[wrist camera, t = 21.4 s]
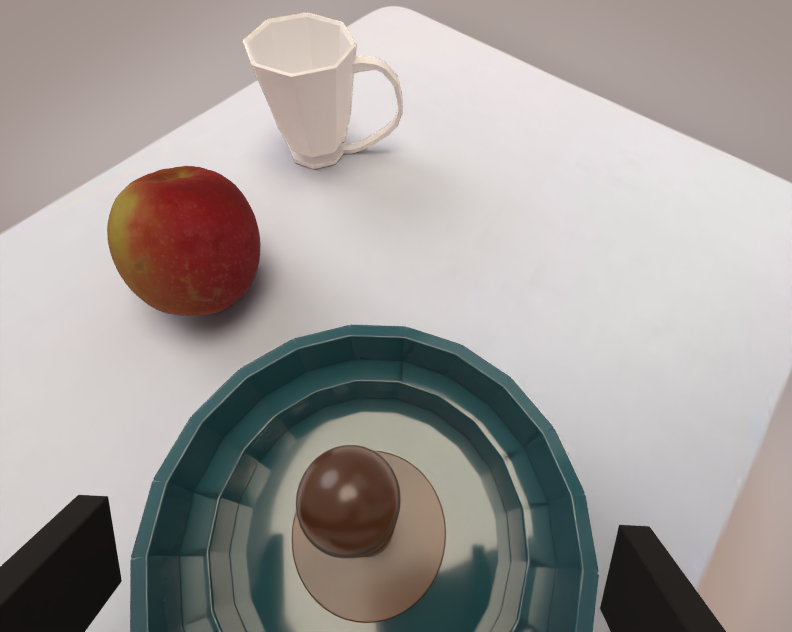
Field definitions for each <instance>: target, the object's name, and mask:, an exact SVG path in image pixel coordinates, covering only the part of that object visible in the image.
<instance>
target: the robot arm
mask: <svg viewBox="0 0 792 632" xmlns="http://www.w3.org/2000/svg"><path fill="white" fill-rule="evenodd" d="M121 581H122V580H121V574H120V568H119V562H118V556H117V550H116V543H115V537H114V531H113V525H112V519H111V512H110V506H109V500H108V497H107V496H89V495H78V496H77V497H76V498H75V499H73V500H72V501H71V502H70V503H69V504H68V505H67V506H66V507H65V508H64V509H63V510H62V511H60V512H59V513H58V514H57V515H56V516H55V517H54V518H53V519H52V520H51V521H50V522H48V523H47V524H46V525H45V526H44V527H43V528H42V529H41V530H40V531H39V532H38V533H37V534H35V535H34V536H33V537H32V538H31V539H30V540H29V541H28V542H27V543H26V544H25V545H24V546H22V547H21V548H20V549H19V550H18V551H17V552H16V553H15V554H14V555H13V556H12V557H11V558H9V559H8V560H7V561H6V562H5V563H4V564H3V565H2V566H1V567H0V632H85V631H86V629H87V628H88V626H89V625H90V624H91V622H92V621H93V620H94V618H95V617H96V616H97V614H98V613H99V611H100V610H101V609H102V607H103V606H104V605H105V603H106V602H107V601H108V599H109V598H110V596H111V595H112V594H113V592H114V591H115V590H116V588H117V587H118V586H119V584H120V583H121ZM600 609H601V612H602V614H603V616H604V618H605V620H606V622H607V624H608V627H609V629H610V631H611V632H726V631H725V630H724V628H723V627H722V625H721V624H720V623H719V622H718V620H717V619H716V617H715V616H714V615H713V613H712V612H711V610H710V609H709V608H708V606H707V605H706V604H705V602H704V601H703V599H702V598H701V597H700V595H699V594H698V593H697V591H696V590H695V588H694V587H693V586H692V584H691V583H690V582H689V580H688V579H687V577H686V576H685V575H684V573H683V572H682V571H681V569H680V568H679V566H678V565H677V564H676V562H675V561H674V560H673V558H672V557H671V555H670V554H669V553H668V551H667V550H666V549H665V547H664V546H663V545H662V543H661V542H660V540H659V539H658V538H657V536H656V535H655V534H654V532H653V531H652V529H651V528H650V527H648V526H630V525H619V528H618V533H617V537H616V541H615V546H614V550H613V554H612V559H611V563H610V568H609V572H608V576H607V581H606V585H605V589H604V594H603V598H602V602H601V607H600Z"/></svg>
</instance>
